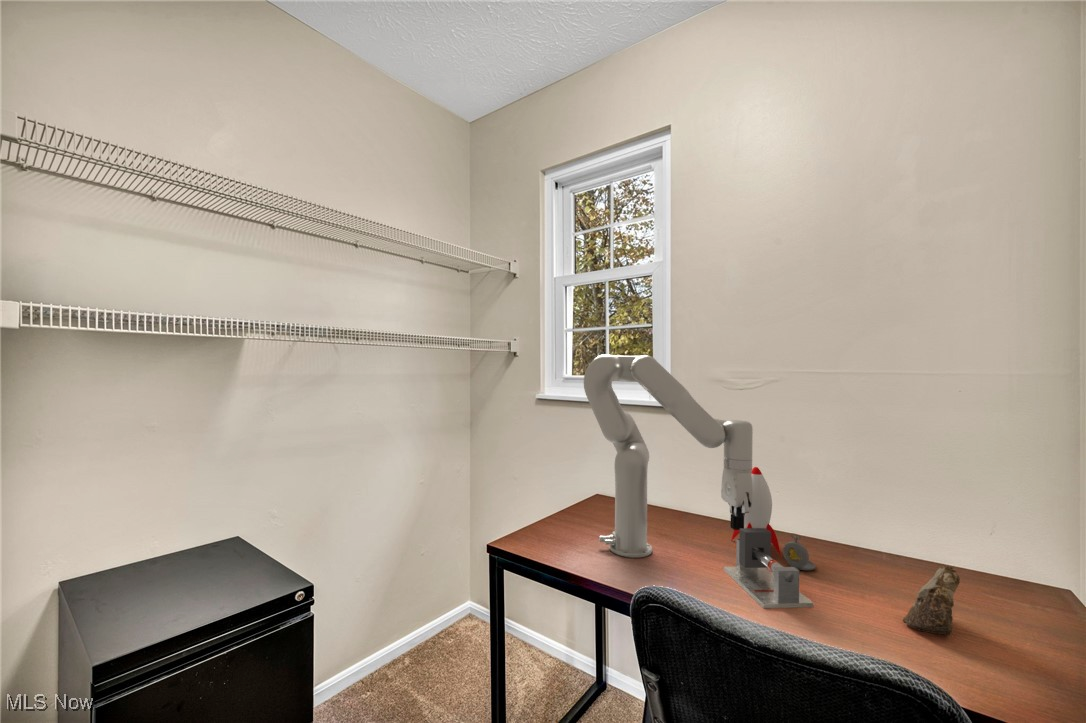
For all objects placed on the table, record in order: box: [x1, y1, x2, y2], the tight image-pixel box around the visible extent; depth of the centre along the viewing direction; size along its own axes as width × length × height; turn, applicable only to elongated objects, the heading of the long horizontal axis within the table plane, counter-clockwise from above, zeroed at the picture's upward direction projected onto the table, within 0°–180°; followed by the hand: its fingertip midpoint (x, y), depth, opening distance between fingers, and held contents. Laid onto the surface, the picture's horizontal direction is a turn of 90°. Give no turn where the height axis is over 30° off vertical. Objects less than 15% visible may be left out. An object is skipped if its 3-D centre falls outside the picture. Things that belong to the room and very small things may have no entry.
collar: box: [738, 528, 772, 568], centre depth 123 cm, size 7×3×9 cm, turn 94°
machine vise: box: [723, 538, 814, 609], centre depth 118 cm, size 12×20×8 cm, turn 4°
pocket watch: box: [782, 533, 816, 571], centre depth 130 cm, size 8×8×10 cm
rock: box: [902, 565, 961, 637], centre depth 101 cm, size 15×8×15 cm
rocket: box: [731, 466, 782, 557], centre depth 144 cm, size 11×11×25 cm
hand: (737, 528), depth 133 cm, fingers closed
